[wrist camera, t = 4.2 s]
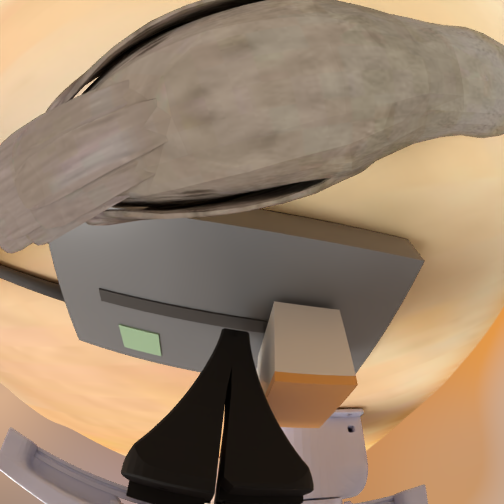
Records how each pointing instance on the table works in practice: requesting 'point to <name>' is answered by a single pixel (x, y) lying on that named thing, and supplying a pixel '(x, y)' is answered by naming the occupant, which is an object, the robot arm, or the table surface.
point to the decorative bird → (242, 113)
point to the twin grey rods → (32, 283)
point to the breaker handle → (305, 364)
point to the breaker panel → (226, 281)
